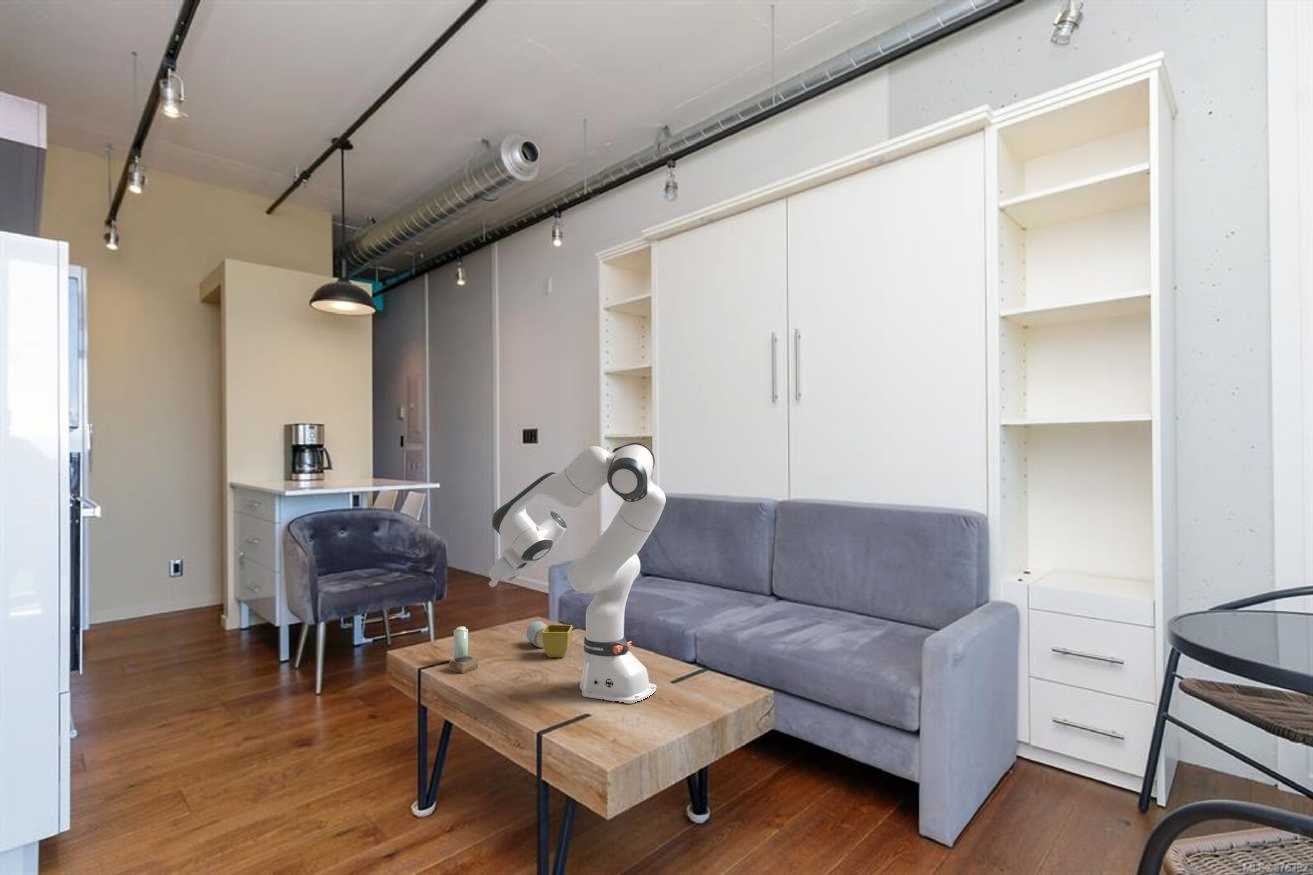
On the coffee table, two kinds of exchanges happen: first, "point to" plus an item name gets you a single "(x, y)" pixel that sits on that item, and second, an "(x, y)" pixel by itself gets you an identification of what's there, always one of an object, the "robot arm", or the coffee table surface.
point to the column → (460, 642)
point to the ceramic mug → (536, 633)
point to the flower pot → (556, 639)
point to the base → (463, 664)
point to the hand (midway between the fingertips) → (500, 582)
